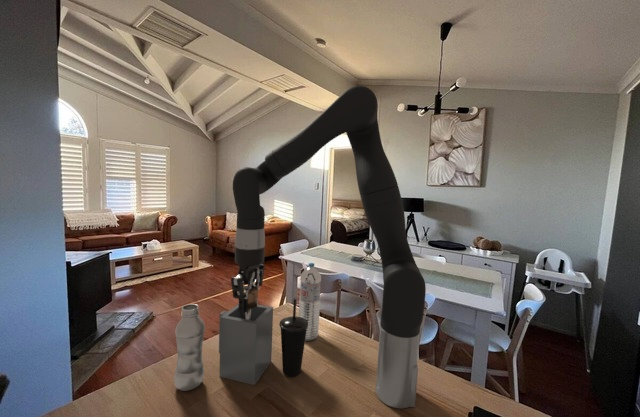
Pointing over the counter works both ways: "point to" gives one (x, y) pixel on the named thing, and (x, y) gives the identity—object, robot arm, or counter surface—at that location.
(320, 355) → the counter surface
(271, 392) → the counter surface
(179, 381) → the plastic bottle
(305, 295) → the water bottle
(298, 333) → the drinking cup
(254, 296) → the plunger
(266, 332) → the box
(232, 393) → the counter surface
